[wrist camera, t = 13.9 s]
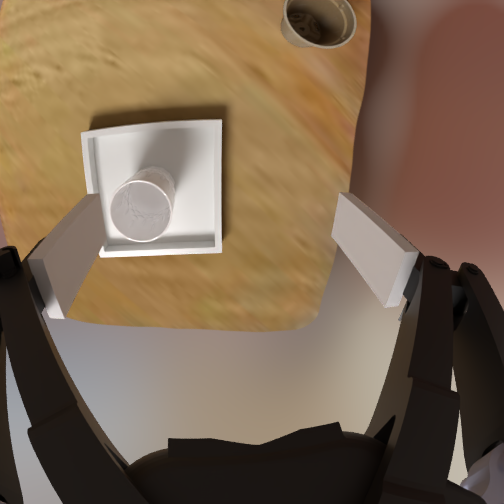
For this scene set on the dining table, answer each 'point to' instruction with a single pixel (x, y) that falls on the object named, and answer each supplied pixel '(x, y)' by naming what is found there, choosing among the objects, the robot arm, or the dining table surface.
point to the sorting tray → (181, 169)
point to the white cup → (144, 205)
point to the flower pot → (318, 23)
